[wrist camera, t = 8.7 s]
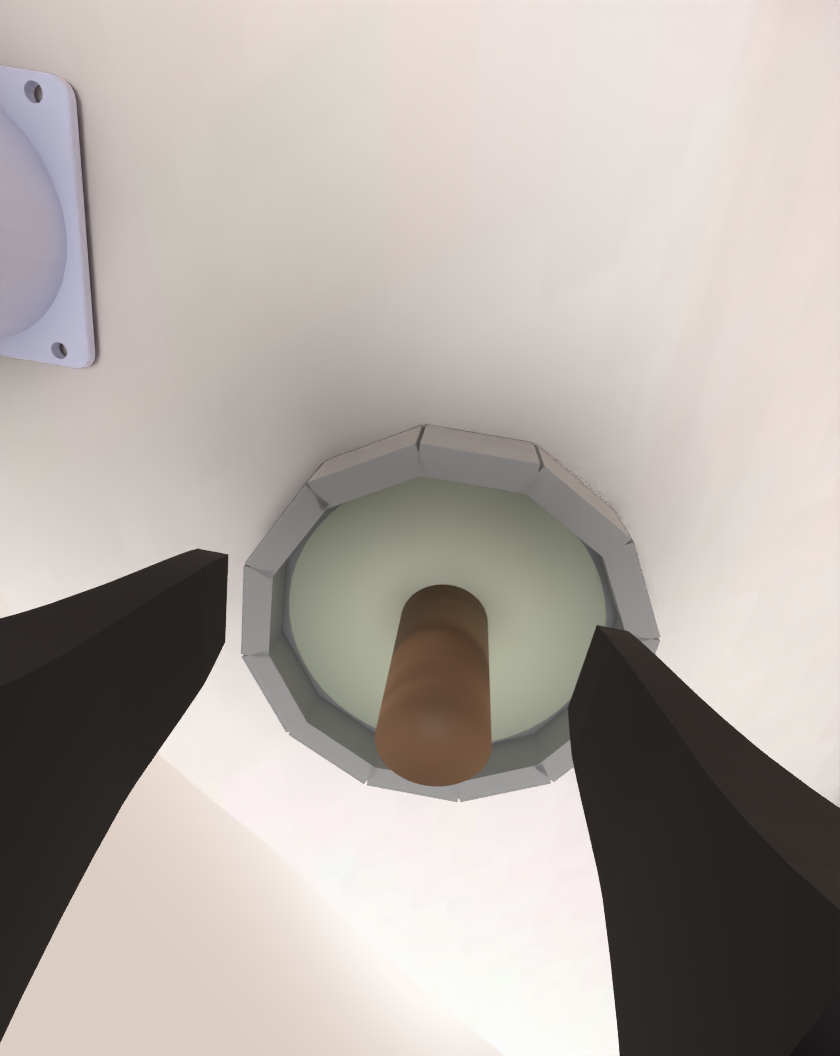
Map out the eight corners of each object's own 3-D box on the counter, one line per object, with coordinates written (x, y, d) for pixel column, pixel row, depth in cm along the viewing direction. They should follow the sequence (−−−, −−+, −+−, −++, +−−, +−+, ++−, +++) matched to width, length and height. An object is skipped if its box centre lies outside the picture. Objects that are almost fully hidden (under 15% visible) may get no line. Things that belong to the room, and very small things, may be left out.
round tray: (259, 718, 25) (237, 760, 23) (274, 398, 20) (248, 413, 17) (578, 778, 25) (588, 826, 23) (688, 469, 19) (715, 494, 17)
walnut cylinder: (392, 647, 22) (365, 771, 16) (411, 575, 21) (387, 683, 15) (474, 667, 22) (474, 797, 17) (498, 596, 21) (506, 712, 15)
